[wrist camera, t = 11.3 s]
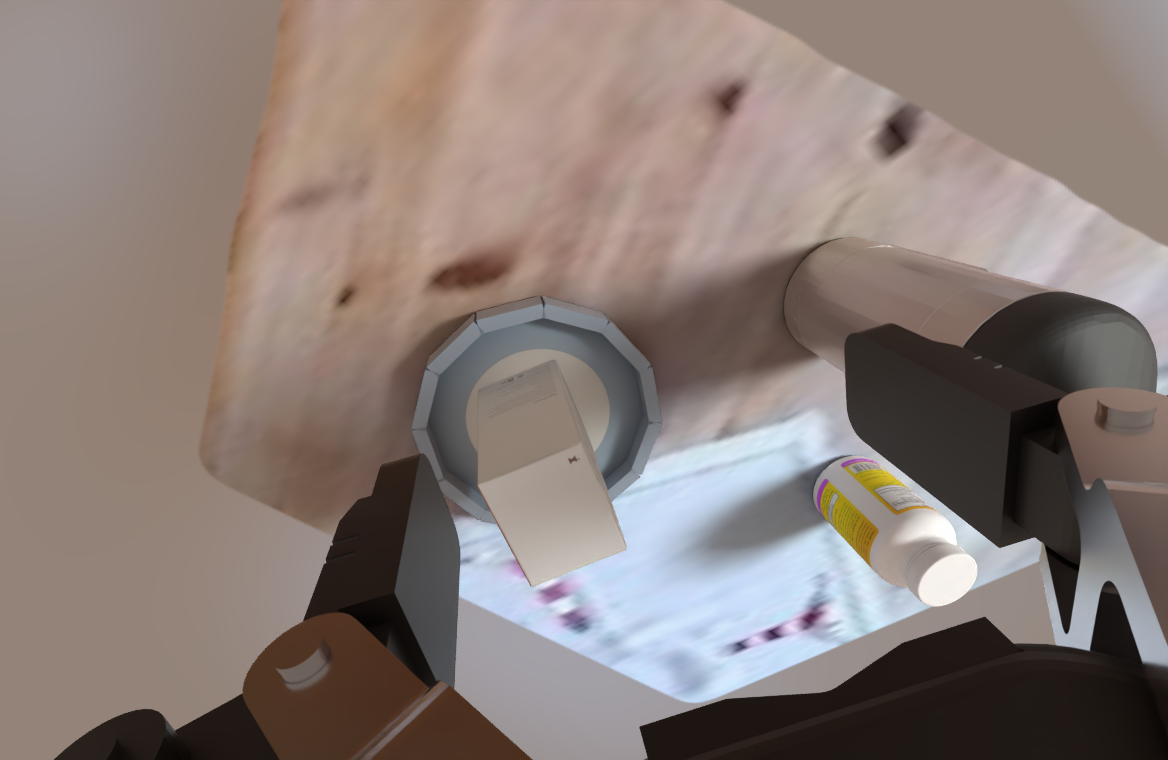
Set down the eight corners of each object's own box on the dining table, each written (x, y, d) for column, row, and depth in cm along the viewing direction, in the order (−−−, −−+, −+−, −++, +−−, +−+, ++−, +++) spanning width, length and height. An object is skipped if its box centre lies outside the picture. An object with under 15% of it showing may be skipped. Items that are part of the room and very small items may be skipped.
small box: (475, 389, 43) (473, 484, 31) (555, 356, 43) (584, 439, 31) (518, 475, 46) (531, 591, 34) (592, 444, 46) (631, 550, 34)
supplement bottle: (832, 527, 55) (927, 633, 43) (796, 485, 52) (888, 585, 41) (890, 483, 54) (1004, 578, 42) (857, 438, 51) (968, 526, 40)
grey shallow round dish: (628, 272, 42) (636, 279, 40) (666, 476, 50) (674, 492, 48) (384, 334, 41) (378, 345, 39) (459, 534, 49) (458, 553, 46)
